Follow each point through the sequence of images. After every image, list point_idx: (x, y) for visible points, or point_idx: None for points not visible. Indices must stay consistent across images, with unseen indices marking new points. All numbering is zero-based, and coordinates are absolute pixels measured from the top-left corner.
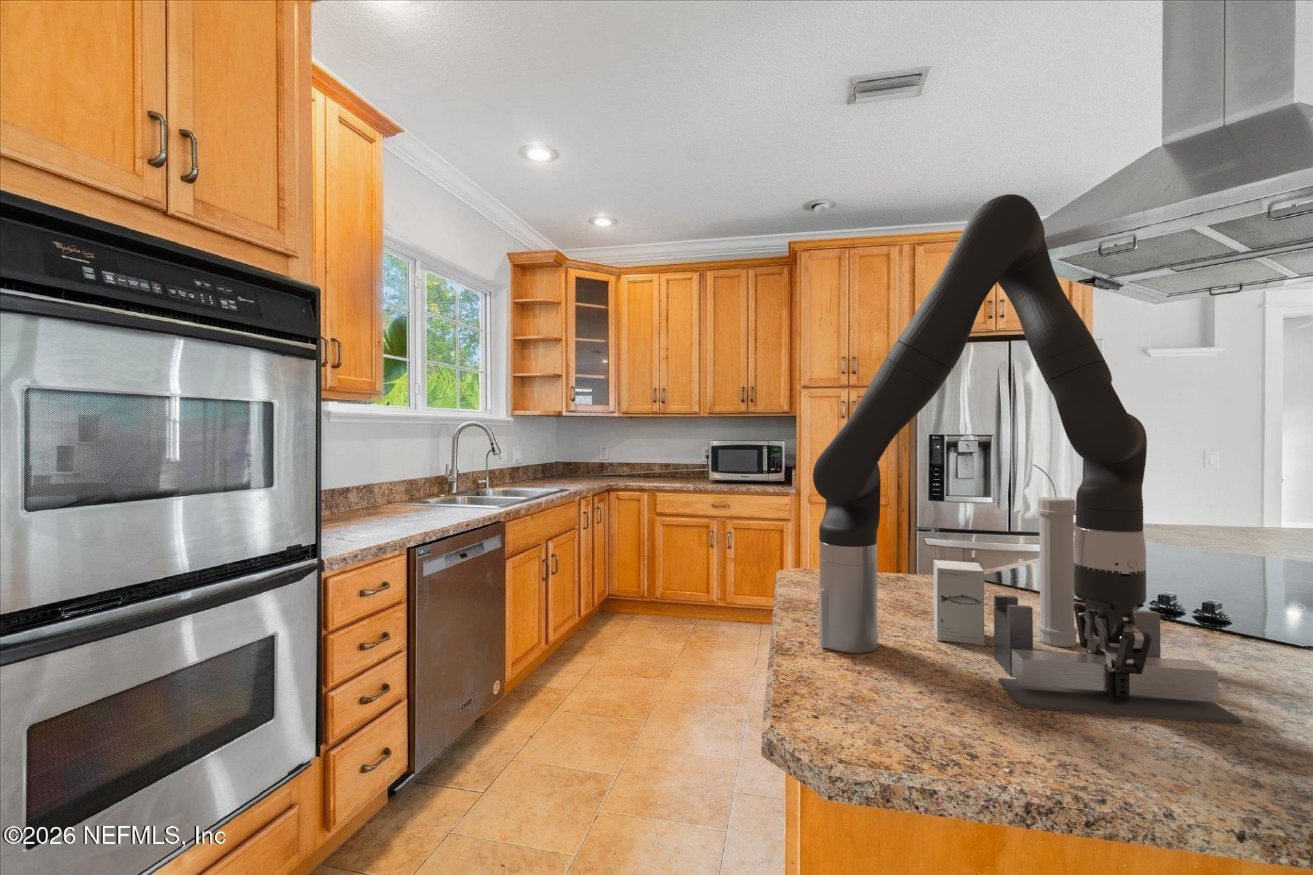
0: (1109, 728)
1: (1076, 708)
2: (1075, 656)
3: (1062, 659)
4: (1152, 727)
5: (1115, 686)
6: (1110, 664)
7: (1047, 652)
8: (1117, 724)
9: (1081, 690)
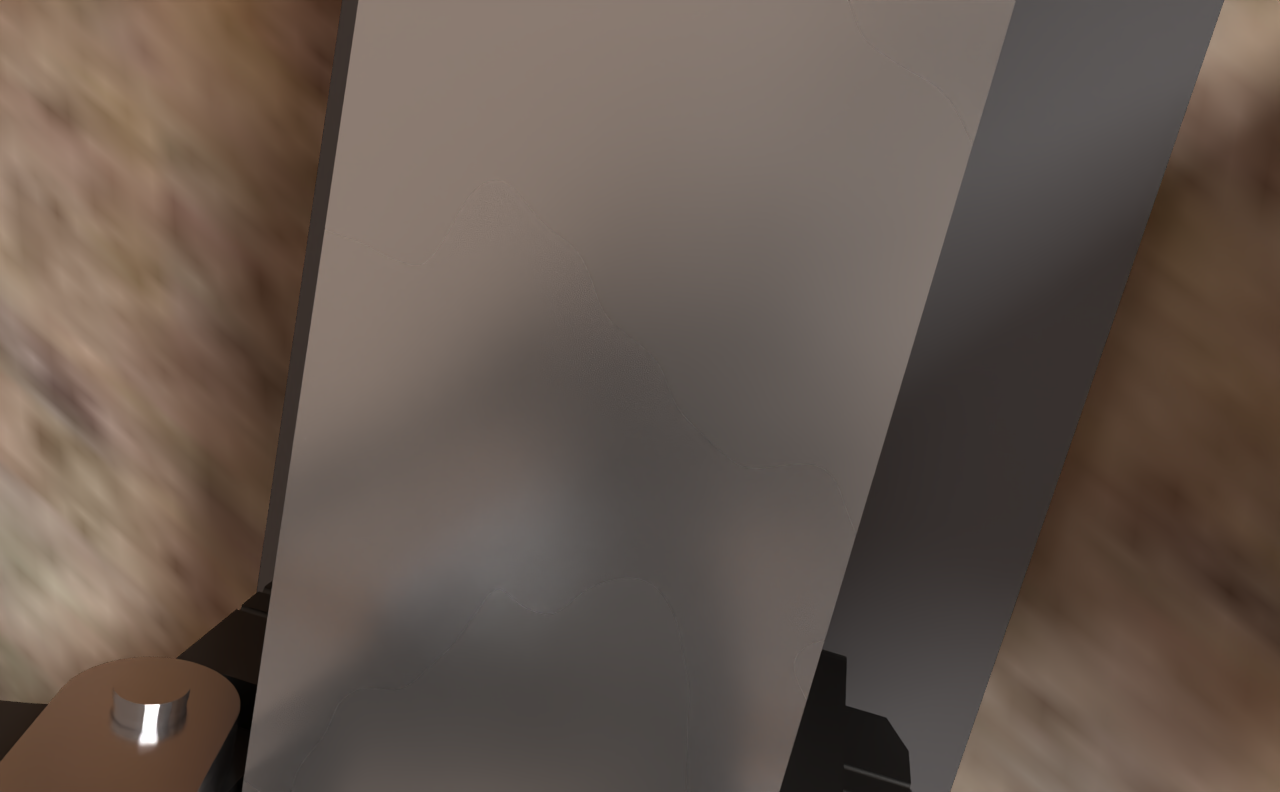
0: (25, 131)
1: (342, 42)
2: (636, 488)
3: (470, 68)
4: (80, 564)
5: (264, 617)
6: (73, 719)
7: (927, 15)
8: (113, 283)
9: None
